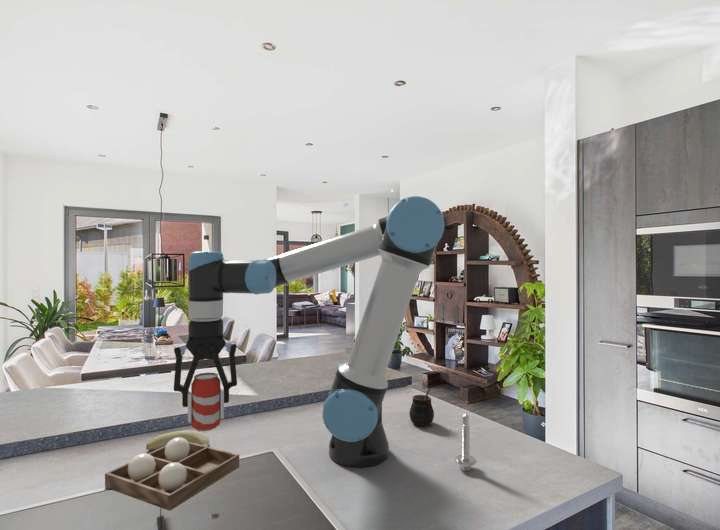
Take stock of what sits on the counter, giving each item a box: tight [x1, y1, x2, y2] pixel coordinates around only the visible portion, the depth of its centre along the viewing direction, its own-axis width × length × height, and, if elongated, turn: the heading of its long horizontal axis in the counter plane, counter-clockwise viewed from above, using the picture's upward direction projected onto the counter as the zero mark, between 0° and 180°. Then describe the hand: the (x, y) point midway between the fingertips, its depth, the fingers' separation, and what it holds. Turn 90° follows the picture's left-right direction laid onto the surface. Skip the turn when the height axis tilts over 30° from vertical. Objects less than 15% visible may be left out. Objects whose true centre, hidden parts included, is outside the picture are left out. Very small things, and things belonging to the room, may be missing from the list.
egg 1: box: [128, 452, 156, 481], centre depth 97 cm, size 6×6×6 cm
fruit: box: [145, 429, 210, 451], centre depth 116 cm, size 7×15×3 cm, turn 98°
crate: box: [104, 442, 240, 512], centre depth 99 cm, size 20×20×3 cm
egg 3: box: [158, 462, 187, 492], centre depth 93 cm, size 6×6×6 cm
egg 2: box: [165, 437, 190, 462], centre depth 106 cm, size 6×6×6 cm
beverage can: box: [190, 372, 221, 432], centre depth 101 cm, size 6×6×12 cm
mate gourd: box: [409, 387, 435, 427], centre depth 131 cm, size 7×8×10 cm
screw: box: [454, 413, 477, 472], centre depth 103 cm, size 13×5×5 cm
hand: (206, 418), depth 101 cm, fingers closed on beverage can, 6 cm apart
